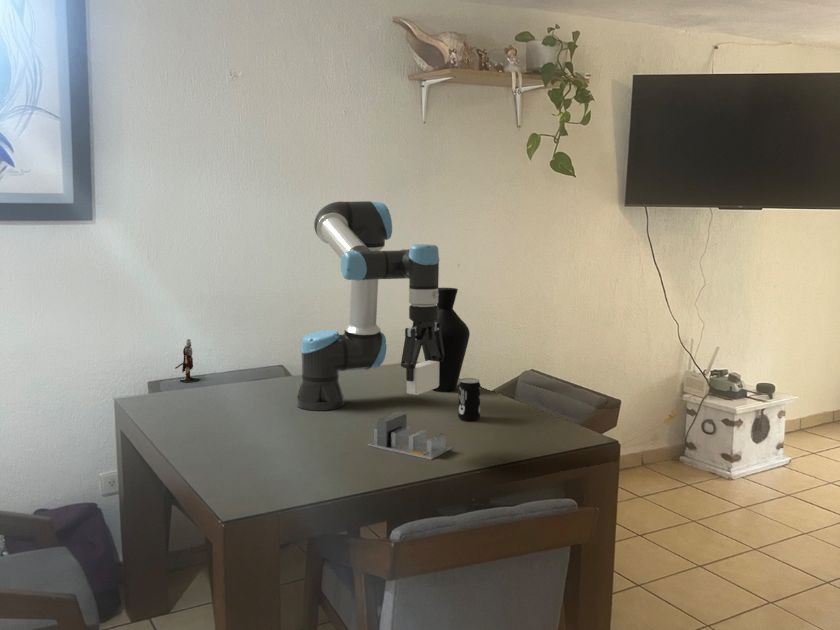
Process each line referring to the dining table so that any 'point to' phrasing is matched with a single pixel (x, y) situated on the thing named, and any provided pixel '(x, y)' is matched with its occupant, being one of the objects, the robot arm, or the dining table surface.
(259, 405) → the dining table surface
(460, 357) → the vase
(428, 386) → the blank panel
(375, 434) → the rack
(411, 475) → the dining table surface
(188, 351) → the figurine
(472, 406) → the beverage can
